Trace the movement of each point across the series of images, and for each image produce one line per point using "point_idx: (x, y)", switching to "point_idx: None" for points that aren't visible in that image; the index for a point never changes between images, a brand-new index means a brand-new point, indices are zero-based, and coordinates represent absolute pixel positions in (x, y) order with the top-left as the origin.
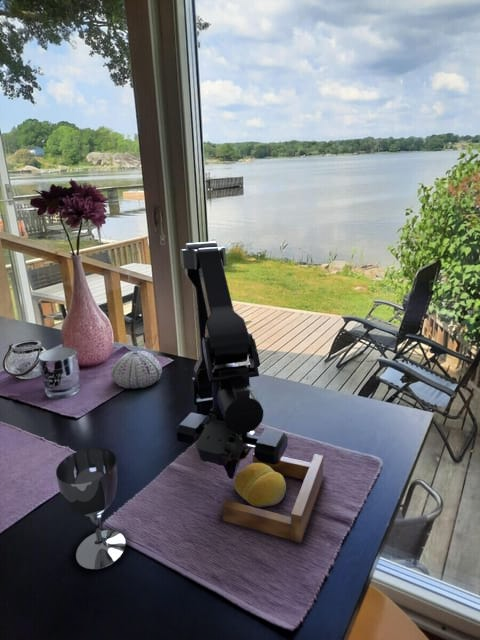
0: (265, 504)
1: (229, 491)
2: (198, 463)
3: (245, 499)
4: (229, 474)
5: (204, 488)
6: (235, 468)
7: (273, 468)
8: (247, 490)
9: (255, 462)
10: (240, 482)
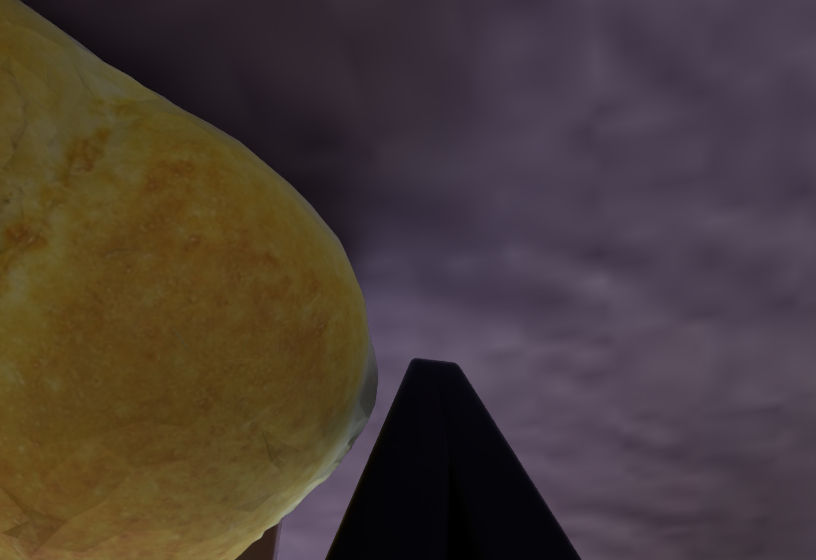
0: None
1: (425, 205)
2: (790, 464)
3: (117, 70)
4: (452, 412)
5: (752, 196)
6: (333, 540)
7: None
8: (53, 185)
9: (246, 555)
10: (205, 304)
